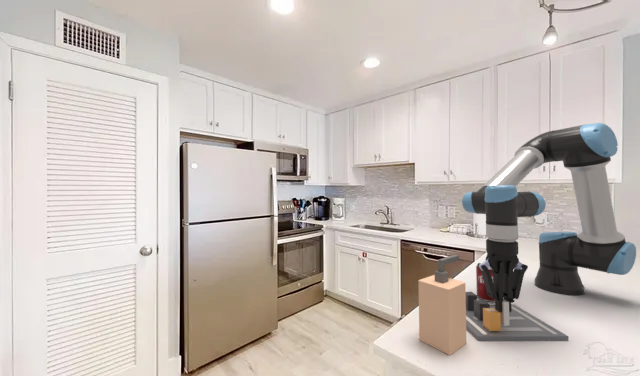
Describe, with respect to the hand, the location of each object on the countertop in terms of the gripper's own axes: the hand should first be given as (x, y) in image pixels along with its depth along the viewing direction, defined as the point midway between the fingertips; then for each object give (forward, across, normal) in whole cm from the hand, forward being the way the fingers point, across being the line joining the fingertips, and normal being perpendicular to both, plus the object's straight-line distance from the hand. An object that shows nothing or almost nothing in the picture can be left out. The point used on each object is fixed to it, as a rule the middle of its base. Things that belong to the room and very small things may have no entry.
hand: (503, 323), depth 74 cm
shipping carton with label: (+1, +3, 0) cm, 3 cm away
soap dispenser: (+3, +17, +2) cm, 18 cm away
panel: (+3, -3, -7) cm, 8 cm away
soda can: (+3, -11, -25) cm, 27 cm away
